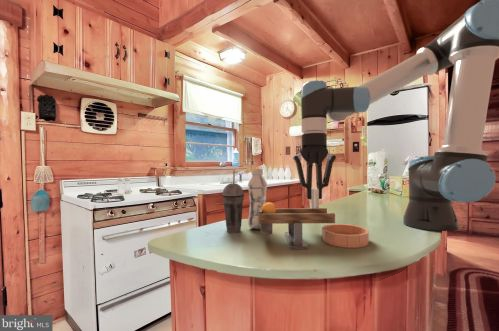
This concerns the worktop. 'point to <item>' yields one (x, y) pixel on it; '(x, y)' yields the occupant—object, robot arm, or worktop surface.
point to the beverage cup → (233, 205)
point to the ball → (268, 208)
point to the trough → (294, 217)
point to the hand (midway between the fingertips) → (314, 209)
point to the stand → (295, 236)
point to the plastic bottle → (256, 197)
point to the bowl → (345, 235)
